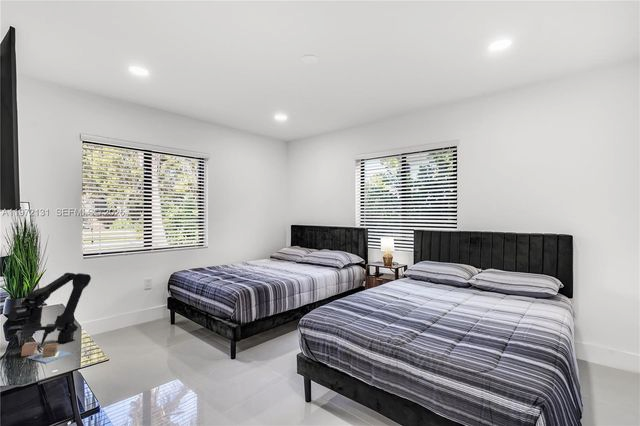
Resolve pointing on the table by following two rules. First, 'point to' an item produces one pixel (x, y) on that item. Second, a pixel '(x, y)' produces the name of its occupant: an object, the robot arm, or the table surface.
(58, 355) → the board
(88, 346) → the table surface
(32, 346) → the terracotta block
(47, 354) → the walnut block
